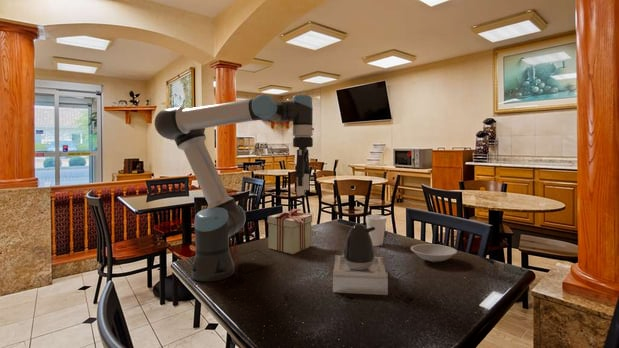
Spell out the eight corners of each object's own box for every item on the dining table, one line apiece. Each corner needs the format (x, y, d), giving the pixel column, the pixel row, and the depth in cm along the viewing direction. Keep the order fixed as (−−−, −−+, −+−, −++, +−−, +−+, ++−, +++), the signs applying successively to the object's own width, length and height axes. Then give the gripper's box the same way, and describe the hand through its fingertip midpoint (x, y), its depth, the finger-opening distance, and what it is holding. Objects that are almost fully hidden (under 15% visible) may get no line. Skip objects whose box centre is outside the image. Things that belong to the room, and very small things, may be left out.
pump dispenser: (374, 274, 101) (375, 228, 100) (342, 272, 103) (342, 227, 102) (374, 263, 111) (375, 221, 110) (345, 261, 113) (345, 219, 112)
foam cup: (362, 242, 153) (362, 215, 152) (379, 240, 156) (379, 214, 155) (371, 248, 144) (372, 220, 143) (389, 246, 147) (389, 218, 146)
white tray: (332, 292, 100) (332, 267, 100) (336, 265, 123) (336, 245, 122) (387, 295, 98) (388, 270, 98) (380, 267, 121) (380, 246, 120)
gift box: (300, 256, 134) (300, 216, 133) (266, 249, 143) (265, 212, 142) (319, 245, 149) (319, 209, 147) (287, 240, 158) (286, 206, 156)
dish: (416, 268, 120) (416, 255, 119) (406, 255, 134) (406, 243, 134) (463, 268, 119) (464, 255, 119) (448, 255, 134) (448, 243, 133)
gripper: (308, 135, 107) (308, 197, 109) (316, 137, 132) (316, 188, 134) (286, 135, 108) (287, 197, 110) (298, 137, 133) (298, 188, 135)
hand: (303, 192), depth 122 cm, fingers open, 13 cm apart
